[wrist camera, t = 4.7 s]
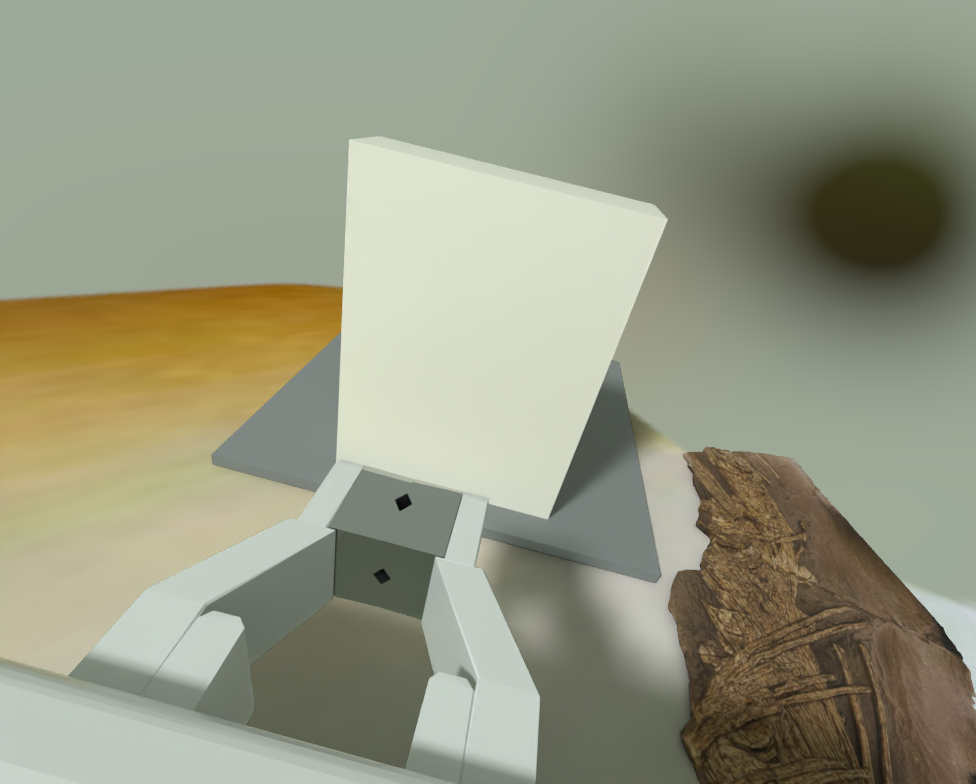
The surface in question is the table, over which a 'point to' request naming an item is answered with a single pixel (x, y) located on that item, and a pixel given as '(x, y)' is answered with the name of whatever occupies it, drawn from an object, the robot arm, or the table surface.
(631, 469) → the mat
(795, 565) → the wooden fragment
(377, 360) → the tile
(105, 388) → the table surface
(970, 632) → the table surface
